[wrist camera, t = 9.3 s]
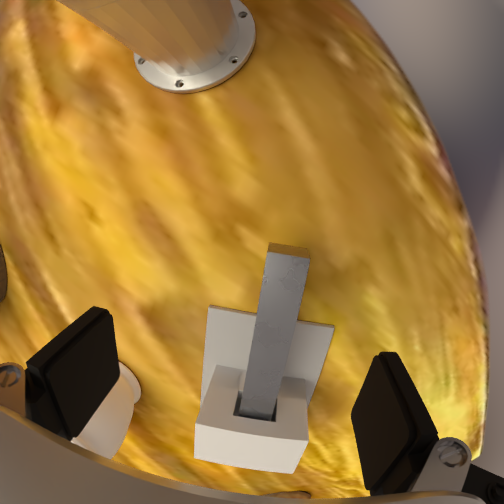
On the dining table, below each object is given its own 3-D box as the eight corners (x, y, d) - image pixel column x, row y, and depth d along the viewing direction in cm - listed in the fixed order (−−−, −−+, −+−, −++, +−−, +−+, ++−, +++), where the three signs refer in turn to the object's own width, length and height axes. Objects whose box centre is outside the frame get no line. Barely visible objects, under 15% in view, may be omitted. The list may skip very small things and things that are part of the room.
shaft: (269, 242, 23) (267, 251, 20) (307, 248, 23) (310, 258, 20) (237, 420, 28) (233, 440, 25) (264, 425, 28) (262, 444, 25)
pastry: (300, 484, 38) (300, 501, 34) (316, 496, 39) (317, 512, 35) (254, 495, 40) (252, 510, 36) (273, 506, 41) (272, 521, 37)
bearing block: (209, 304, 30) (179, 358, 20) (333, 325, 29) (351, 386, 20) (199, 428, 35) (181, 483, 25) (291, 443, 34) (290, 500, 25)
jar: (150, 416, 36) (109, 493, 21) (90, 393, 36) (40, 455, 22) (148, 362, 33) (90, 447, 19) (81, 338, 34) (13, 401, 19)
